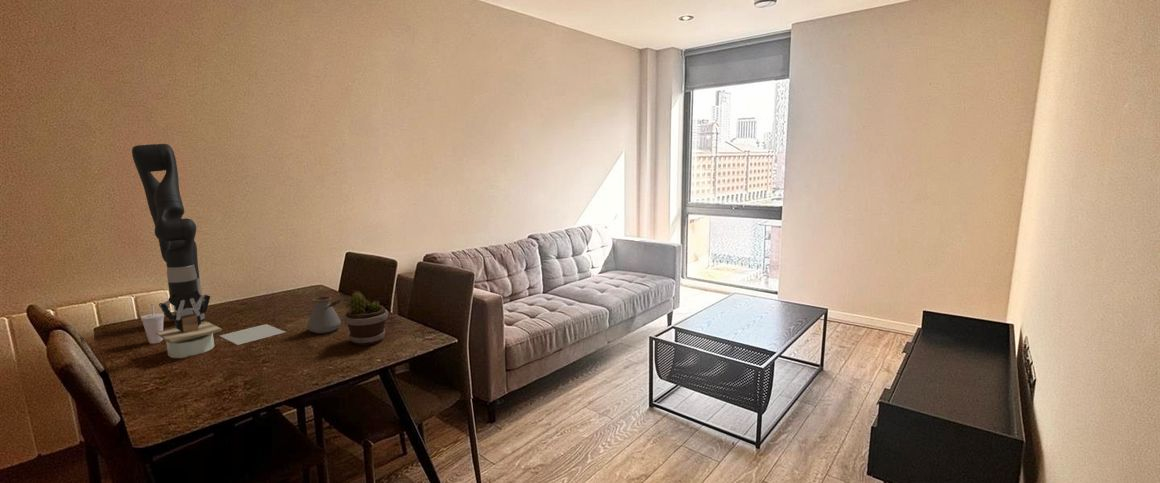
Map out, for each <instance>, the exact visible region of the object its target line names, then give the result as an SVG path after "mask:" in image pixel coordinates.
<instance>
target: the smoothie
mask: <svg viewBox="0 0 1160 483" xmlns="http://www.w3.org/2000/svg"><path fill="white" fill-rule="evenodd" d="M150 306H151V313H149V314H144V315H142V316H141V317H140V321H142V324H143V327H144V331H145V334H146V337H147V339H148V343H149V344H152V345H153V344H158V343H161V342H163V340H164V339H163V338H161V337H160V336H158V335H156V332H159V331H164V318H165V314H164V313H163V312H162V313H161V312H158V313H157V312H156V313H155V307H154V303H151V304H150Z"/></svg>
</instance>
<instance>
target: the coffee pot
mask: <svg viewBox="0 0 1160 483" xmlns="http://www.w3.org/2000/svg"><path fill="white" fill-rule="evenodd" d="M331 300H332V297H331V296H328V295H327V296H326V295H325V296H317V297H314V298H312V302H313V304H314V306H313V309H312V312H311V313H310V316H309V319H308V322H307V325H306V328H307V329H308V331H310V332H312V333H315V334H330V333H333V332H334V331H336V330H337V329H338V328H339V327H340V325H341V324H342V323H341V322H342V320H341V319H340V317H339V315H338V314H337V312H336V310H335V309H334V307H333V306H337V307H340V306H342V305H343V303H344V302H343V301H341V300H339V299H338V300H335V301H333V302H332V303H331ZM340 302H341V303H342V304H341V305H339V303H340Z"/></svg>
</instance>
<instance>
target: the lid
mask: <svg viewBox="0 0 1160 483" xmlns="http://www.w3.org/2000/svg"><path fill="white" fill-rule="evenodd" d="M181 320H182V328H183V330H181V331H180V330H178V329H176V327H173V328H170V329H165V330H164V329H163V331H159V332H156V335H158V336H160V337H161V338H163V340H165V341H168V342H170V343H174V342H179V341H183V340H187V339H191V338H195V337H199V336H203V335H208V334H212V333H213V334H215V333H219V332H222V331H223V329H222V328H221V327H219V326H217V325H215V324H213V323H210V322H209V321H207V320H205V321H201V324H200V325H199V327H198V321H197V316H196V315H194V314H189V315H184V316H181Z"/></svg>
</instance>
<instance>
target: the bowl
mask: <svg viewBox="0 0 1160 483" xmlns="http://www.w3.org/2000/svg"><path fill="white" fill-rule="evenodd" d="M165 342H166V343H165V344H166V349H167V350H166V351H167V356H168V357H170V358H171V359H183V358H185V359H186V358H188V357H192V356H196V355H200V354H203V353H207V352H209V351H210V350H213V348H214V347H215V340H214V333H212V334H208V335H203V336H199V337H195V338H191V339H187V340H183V341H179V342H174V343H170V342H168V341H167V340H165Z"/></svg>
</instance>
